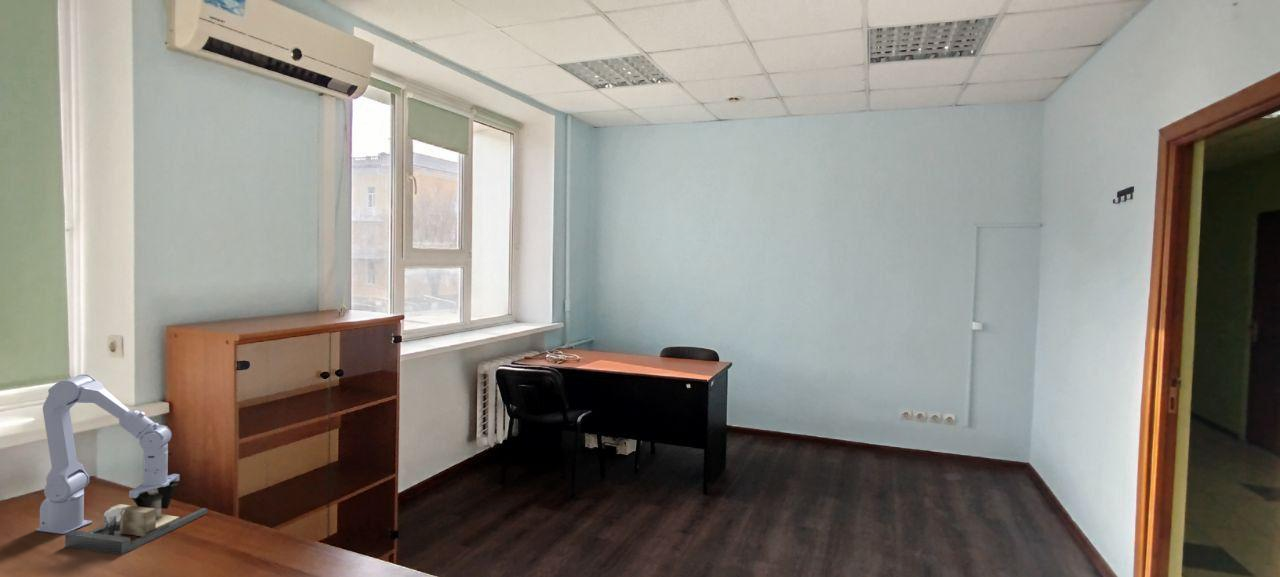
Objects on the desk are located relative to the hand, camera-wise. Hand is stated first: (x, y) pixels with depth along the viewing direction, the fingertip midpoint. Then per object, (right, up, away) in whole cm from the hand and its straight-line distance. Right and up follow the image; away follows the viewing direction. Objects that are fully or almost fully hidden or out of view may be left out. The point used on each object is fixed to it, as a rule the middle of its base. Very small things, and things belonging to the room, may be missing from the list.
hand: (154, 512), depth 183 cm
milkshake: (-2, -4, -12) cm, 12 cm away
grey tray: (-1, -3, -4) cm, 6 cm away
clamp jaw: (-1, -3, -3) cm, 5 cm away
